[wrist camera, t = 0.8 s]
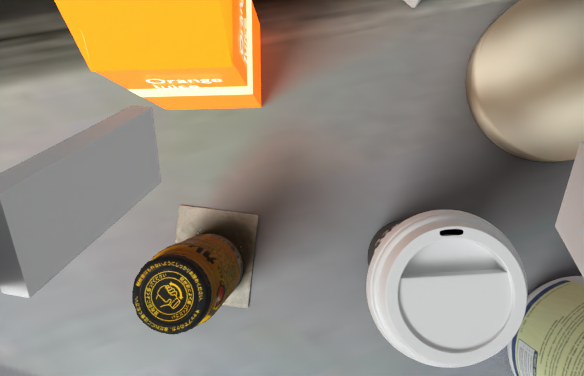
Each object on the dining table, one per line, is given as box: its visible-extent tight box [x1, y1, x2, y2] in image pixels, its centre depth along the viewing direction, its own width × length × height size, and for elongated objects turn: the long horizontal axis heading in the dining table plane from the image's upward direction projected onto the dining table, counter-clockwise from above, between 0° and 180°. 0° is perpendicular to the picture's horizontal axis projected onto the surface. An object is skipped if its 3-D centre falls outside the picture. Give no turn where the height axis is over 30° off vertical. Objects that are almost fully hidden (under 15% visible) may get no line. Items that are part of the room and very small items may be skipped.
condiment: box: [132, 205, 258, 334], centre depth 36 cm, size 7×8×12 cm
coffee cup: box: [366, 210, 528, 368], centre depth 34 cm, size 10×10×15 cm
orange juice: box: [54, 0, 261, 110], centre depth 32 cm, size 8×9×20 cm
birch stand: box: [466, 0, 584, 162], centre depth 39 cm, size 14×14×3 cm
